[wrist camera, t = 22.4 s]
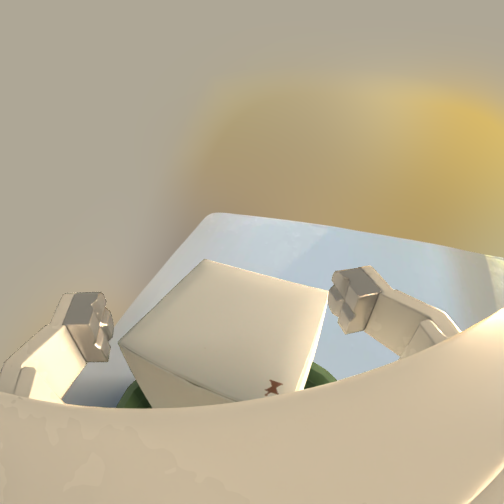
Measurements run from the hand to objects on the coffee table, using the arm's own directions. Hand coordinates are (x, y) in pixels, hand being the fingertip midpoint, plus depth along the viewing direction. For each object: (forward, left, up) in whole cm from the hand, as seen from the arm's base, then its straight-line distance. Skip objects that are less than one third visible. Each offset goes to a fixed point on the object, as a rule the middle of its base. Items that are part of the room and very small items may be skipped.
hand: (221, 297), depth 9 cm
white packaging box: (0, +1, -15) cm, 15 cm away
